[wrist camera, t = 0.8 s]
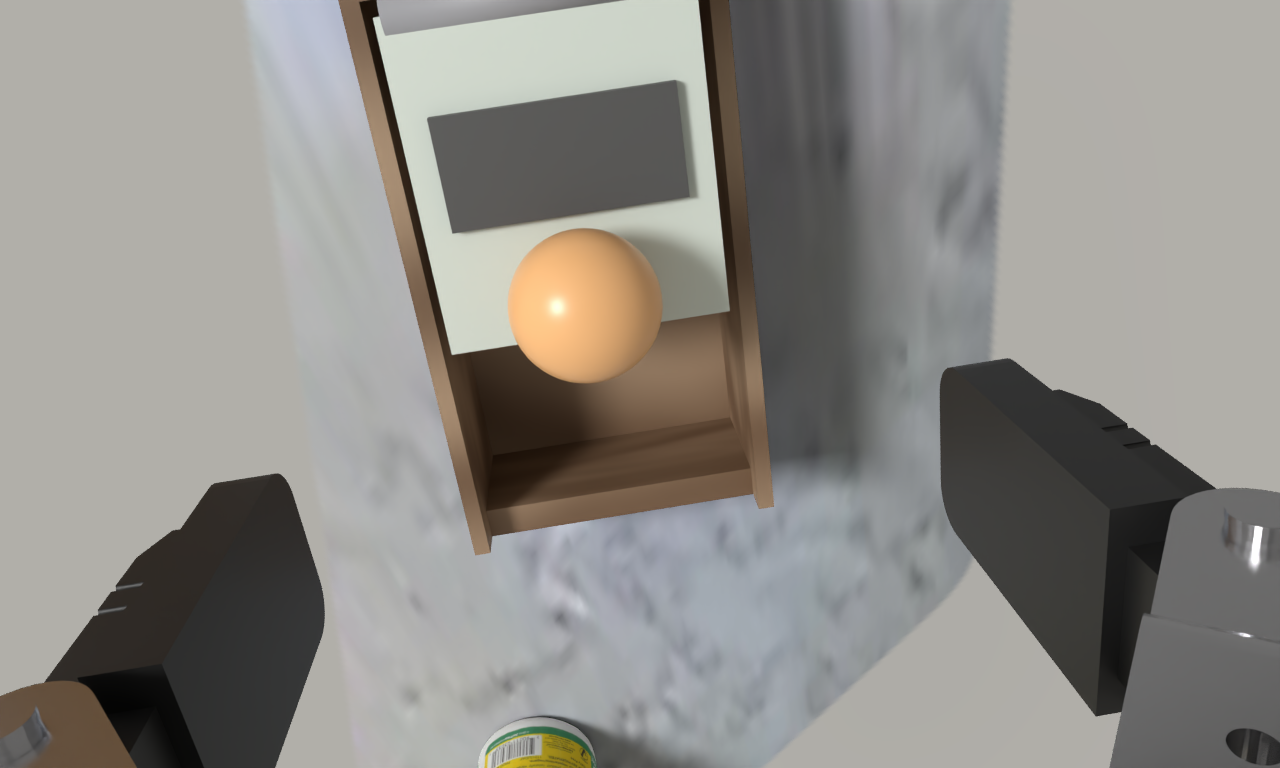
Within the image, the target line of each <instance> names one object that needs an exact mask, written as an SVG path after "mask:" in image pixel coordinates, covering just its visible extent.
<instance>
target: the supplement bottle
mask: <svg viewBox="0 0 1280 768" xmlns="http://www.w3.org/2000/svg"><path fill="white" fill-rule="evenodd" d="M478 768H597V763H596V758H595V754H594V751H593V748H592V746H591V743H590V742H589V740H588V738H587V737H586V736H585V735H584V734H583V733H582V732H581V731H580V730H579V729H578V728H576V727H574V726H572V725H570V724H568V723H566V722H563V721H560V720H556V719H552V718H546V717H535V718H527V719H522V720H518V721H515V722H513V723H510V724H508V725H506V726H505V727H503V728H501V729H500V730H498V731H497V732H496V733H495V734H493V735H492V736H491V737H490V739H489V740H488V741H487V742H486V744H485V745H484V747H483V749H482V751H481V754H480V757H479V762H478Z"/></svg>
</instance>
